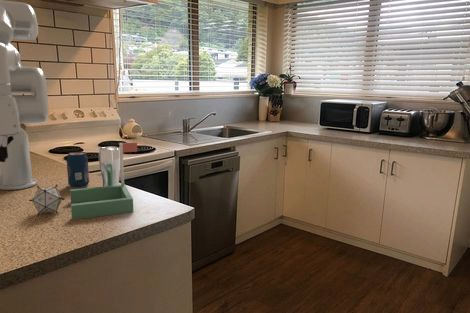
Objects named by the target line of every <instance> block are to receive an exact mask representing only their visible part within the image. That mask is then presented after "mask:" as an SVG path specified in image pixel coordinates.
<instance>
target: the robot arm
mask: <svg viewBox="0 0 470 313" xmlns="http://www.w3.org/2000/svg"><path fill="white" fill-rule="evenodd" d="M38 34H39V24H38V19H37V15H36V12H35V10H34V9H33V7H32V6H31V5H30V4H28V3H26V2H21V1H20V2H19V1H10V0H0V190H1V191H2V190H4V191H5V190H6V191H12V190H22V189H28V188H31V187H34V186H37V184H38V179H37V178H34V177H33V173H32V164H31V154H30V153H31V152H30V144H29V135H28V133H27V132H26V131H25V129H23V128H22V126H21V124H22V125H23V124H38V123H39V124H40V123H41V124H42V123H45V122H47V121H48V119H49V116H50V112H49V98H48V97H49V96H48V88H47V86H48V85H47V79H46V76H45V75H46V74H45V72H44V71H43V70H42V69H41V68H40V67H38V66H37V67H36V66H26V65H25V66H23V65H22V64H21V63H22V62H21V54H20V52H19V51H18V50H17V49H16V47H14V45H13V44H11V42H12V40H21V41H22V40H25V41H33V40H34V41H35V40H36V39H37V37H38V36H39V35H38ZM19 94H20V95H19ZM24 94H25V95H24ZM27 94H29V95H27Z"/></svg>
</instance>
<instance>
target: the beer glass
mask: <svg viewBox="0 0 470 313" xmlns="http://www.w3.org/2000/svg"><path fill="white" fill-rule="evenodd" d="M98 164H99V170H100V173H101V177H102V178H101V179H102V186H101V187H103V186H114V185H120V173H121V171H120V148H119V147H118V146H104V147H103V146H102V147H99V148H98Z"/></svg>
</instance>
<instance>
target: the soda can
mask: <svg viewBox="0 0 470 313" xmlns="http://www.w3.org/2000/svg"><path fill="white" fill-rule="evenodd" d="M88 159H89V158H88V156H87V153H86V152H85V151H72V152H68V153H67V156H66V168H67V169H66V170H67V171H66V172H67V183H68V186H69V187H70V188H72V189H73V188H74V189H82V188H87V186H88V185H89V182H90V174H89V160H88Z"/></svg>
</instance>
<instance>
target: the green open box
mask: <svg viewBox="0 0 470 313" xmlns="http://www.w3.org/2000/svg"><path fill="white" fill-rule="evenodd" d="M118 144H119V150H120V184H119V185H114V186H103V185H102V186H103V187H102V186H95V187H82V188H74V189H73V188H72V189H69V191H70V192H69V193H70V194H69V195H70V209H71V210H70V211H71V220H79V219H87V218H94V217H95V218H96V217H104V216H105V217H106V216H111V215H120V214H127V213H134V199H133V196H132V195H131V192H130V191H129V189H128V188H127V185H126V184H125V175H124V174H125V173H124V172H125V170H124V168H125V167H124V153H130V152H131V153H132V152H135V153H137V152H138V142H133V141H132V142H119V143H118ZM115 198H116V199H115ZM96 200H97V201H96ZM78 202H79V203H78Z"/></svg>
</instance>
